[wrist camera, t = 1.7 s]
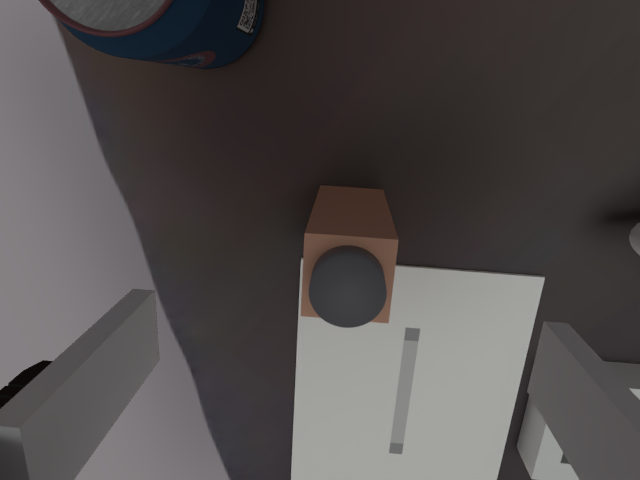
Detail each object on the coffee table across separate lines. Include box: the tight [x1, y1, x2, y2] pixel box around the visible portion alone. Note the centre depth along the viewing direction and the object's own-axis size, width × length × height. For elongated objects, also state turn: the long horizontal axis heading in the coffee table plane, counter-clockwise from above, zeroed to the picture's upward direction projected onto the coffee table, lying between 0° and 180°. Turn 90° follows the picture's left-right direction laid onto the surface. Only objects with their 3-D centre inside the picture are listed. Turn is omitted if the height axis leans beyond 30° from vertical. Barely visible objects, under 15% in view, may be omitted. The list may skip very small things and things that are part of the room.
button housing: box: [516, 361, 640, 480], centre depth 31 cm, size 8×8×3 cm
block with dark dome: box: [301, 185, 399, 328], centre depth 24 cm, size 4×4×11 cm
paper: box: [291, 257, 545, 480], centre depth 33 cm, size 20×16×1 cm
